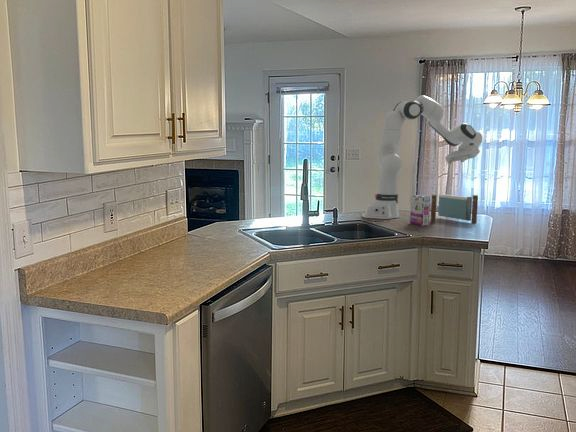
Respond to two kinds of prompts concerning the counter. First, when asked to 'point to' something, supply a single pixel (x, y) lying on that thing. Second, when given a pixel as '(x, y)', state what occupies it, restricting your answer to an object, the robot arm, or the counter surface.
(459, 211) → the gate
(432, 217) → the post
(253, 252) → the counter surface
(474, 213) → the gate post
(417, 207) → the candy bar box
